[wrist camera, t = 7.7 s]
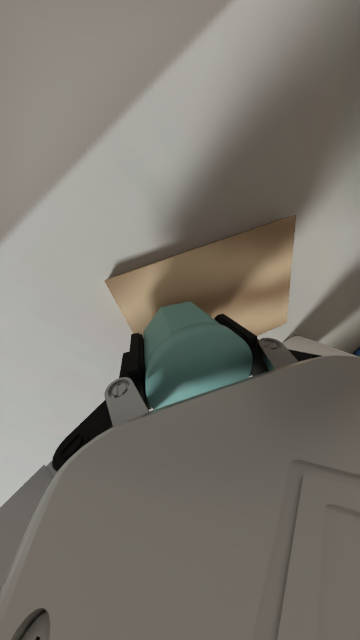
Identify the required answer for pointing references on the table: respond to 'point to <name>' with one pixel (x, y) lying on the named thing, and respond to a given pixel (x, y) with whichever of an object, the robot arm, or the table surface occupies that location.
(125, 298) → the board
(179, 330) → the cap
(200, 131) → the table surface
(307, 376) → the robot arm
